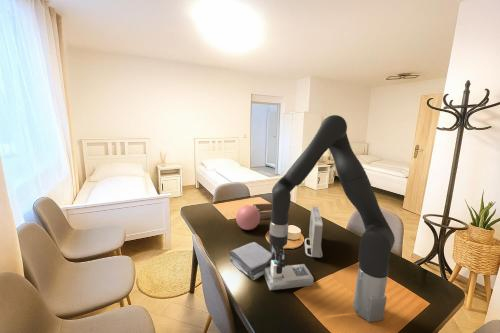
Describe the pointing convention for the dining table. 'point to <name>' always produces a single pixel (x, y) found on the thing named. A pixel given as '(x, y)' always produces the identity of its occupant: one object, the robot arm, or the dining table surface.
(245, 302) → the dining table surface
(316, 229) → the network device
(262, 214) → the coaster tray
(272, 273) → the plug
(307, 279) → the patch panel
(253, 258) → the towel
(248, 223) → the pink rubber ball
